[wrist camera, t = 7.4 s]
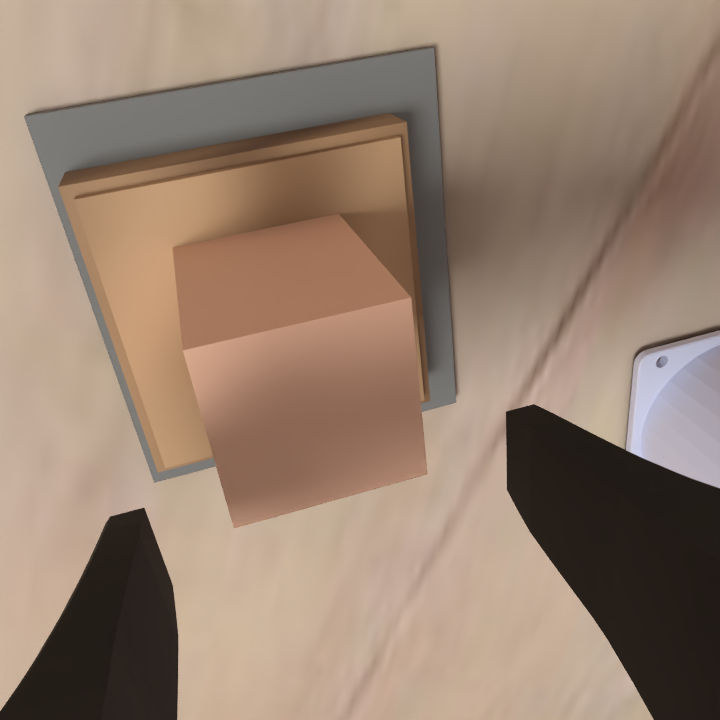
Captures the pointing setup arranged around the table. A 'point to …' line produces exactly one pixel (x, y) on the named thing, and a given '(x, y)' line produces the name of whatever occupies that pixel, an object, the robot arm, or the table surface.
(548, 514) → the robot arm
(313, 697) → the table surface
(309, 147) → the pedestal
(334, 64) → the mat
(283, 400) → the block
